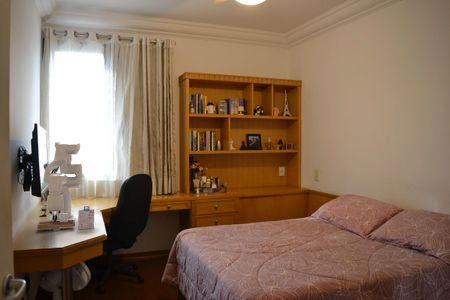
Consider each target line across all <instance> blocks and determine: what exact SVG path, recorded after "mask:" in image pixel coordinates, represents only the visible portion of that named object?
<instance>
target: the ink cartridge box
mask: <svg viewBox="0 0 450 300" xmlns="http://www.w3.org/2000/svg"><path fill="white" fill-rule="evenodd" d="M77 218H78V219H77V229H78V230H84V229H86V230H87V229H94V227H95V226H94V225H95V209H93V208H92V209H91V208H90V206H89V205H88V206H86V205H85V206H83V209H78V215H77Z"/></svg>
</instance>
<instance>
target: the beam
mask: <svg viewBox="0 0 450 300" xmlns="http://www.w3.org/2000/svg"><path fill="white" fill-rule="evenodd" d="M36 227H37V228H36V229H37V230H45V229H46V230H47V229H52V232H60V231H61V228H74V227H76V219H68V222H62V223H60V220H56V222H55V221H54V220H51V221H50V220H49V221H48V220H47V221H37V224H36Z"/></svg>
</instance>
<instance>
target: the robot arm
mask: <svg viewBox="0 0 450 300" xmlns="http://www.w3.org/2000/svg"><path fill="white" fill-rule="evenodd" d="M54 148H55V151H54V159H53V161H51V162H50V163H49V164H48V165H47V166H46V167H45V170H44V173H43V183H44V184H45V185H48V186H49V189H48V191H49V192H48V195H47V199H46V210H45V213H47V214H50V215H51V216H52V220H51V221H55V222H56V221H58V219H60V213H68V218H72V217H74V213H72V204H73V203H72V199H73V198H72V197H73V196H72V195H73V193H72V192H71V190H70V189H80V188H81V187H82V185H83V165H82V163H81V162H79V161H78V162H77V161H73V159H72V157H73V156H72V155H77V154H78V153H79V152H80V149H81V143H80V141H78V140H65V139H64V140H56V141H55V142H54ZM58 168H59V172H60V173H57V172H56V173H55V172H52V171H53V170H56V169H58ZM51 172H52V173H51ZM55 212H56V213H55Z"/></svg>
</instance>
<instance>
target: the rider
mask: <svg viewBox="0 0 450 300" xmlns="http://www.w3.org/2000/svg"><path fill="white" fill-rule="evenodd" d="M68 220H69V217H68V213H60V218H59V221H60V223H62V222H68Z"/></svg>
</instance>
